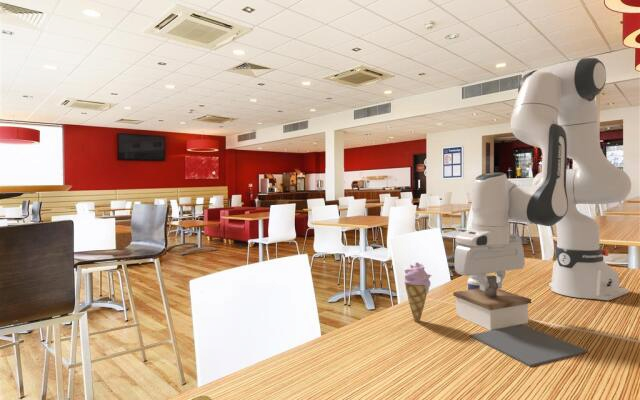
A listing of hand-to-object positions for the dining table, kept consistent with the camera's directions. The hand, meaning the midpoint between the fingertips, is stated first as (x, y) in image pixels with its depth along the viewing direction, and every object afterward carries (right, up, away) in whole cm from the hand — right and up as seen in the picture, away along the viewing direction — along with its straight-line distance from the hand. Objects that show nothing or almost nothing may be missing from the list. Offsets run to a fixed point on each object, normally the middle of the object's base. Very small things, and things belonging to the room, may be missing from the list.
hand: (490, 289), depth 99 cm
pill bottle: (+1, -8, +11) cm, 14 cm away
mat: (+1, -8, -16) cm, 18 cm away
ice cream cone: (-19, -8, 0) cm, 21 cm away
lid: (0, -3, 0) cm, 3 cm away
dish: (0, -8, 0) cm, 8 cm away
